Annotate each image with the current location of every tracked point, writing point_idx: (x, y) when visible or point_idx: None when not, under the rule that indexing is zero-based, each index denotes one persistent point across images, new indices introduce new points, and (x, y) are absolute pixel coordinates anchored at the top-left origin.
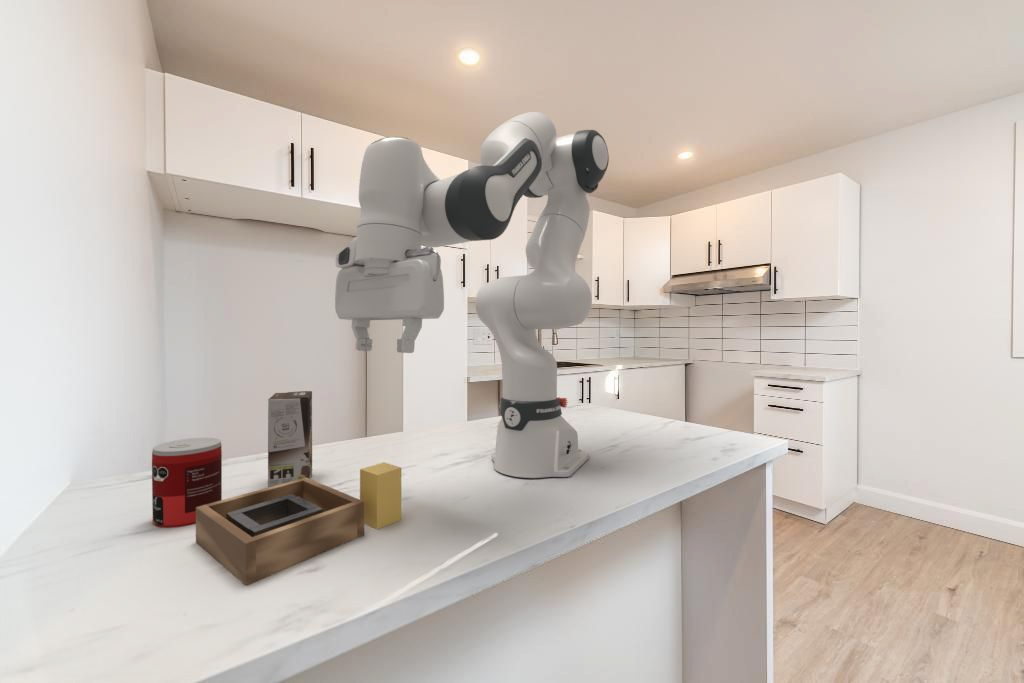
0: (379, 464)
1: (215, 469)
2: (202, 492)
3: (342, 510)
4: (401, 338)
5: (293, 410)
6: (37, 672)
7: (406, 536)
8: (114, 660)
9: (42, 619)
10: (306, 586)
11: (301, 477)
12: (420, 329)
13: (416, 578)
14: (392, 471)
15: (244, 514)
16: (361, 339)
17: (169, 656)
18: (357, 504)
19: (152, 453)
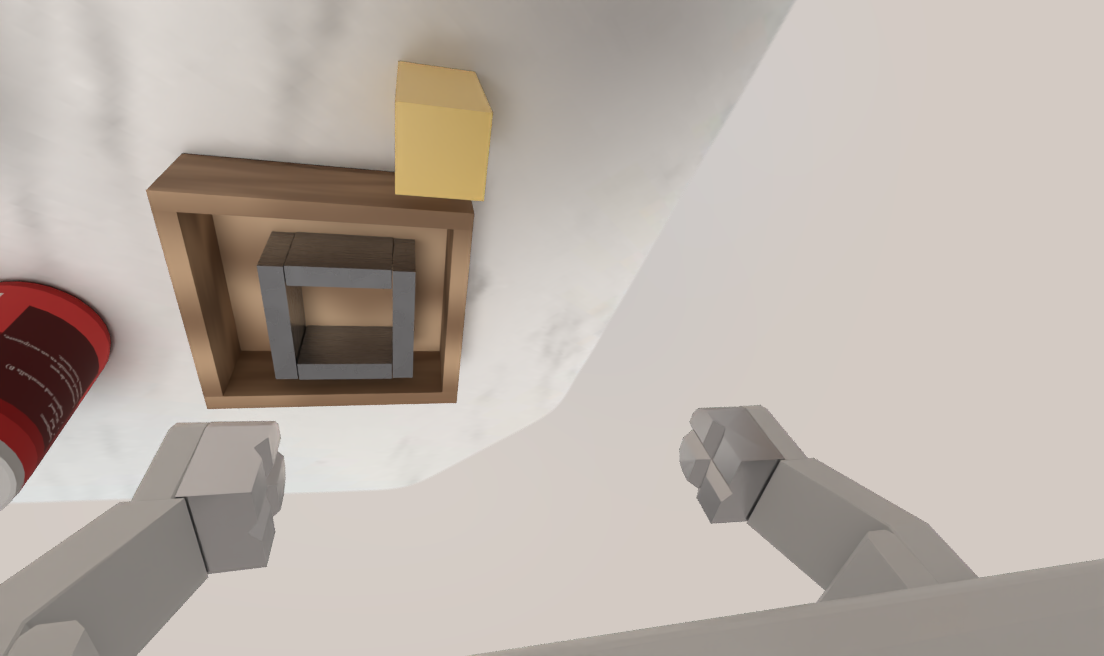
0: (404, 129)
1: (21, 383)
2: (73, 374)
3: (468, 262)
4: (753, 525)
5: None
6: (425, 478)
7: (534, 118)
8: (463, 447)
9: (319, 477)
10: (512, 310)
11: None
12: (905, 512)
13: (643, 216)
14: (488, 147)
15: (296, 355)
16: (263, 560)
17: (501, 423)
18: (471, 229)
19: None
